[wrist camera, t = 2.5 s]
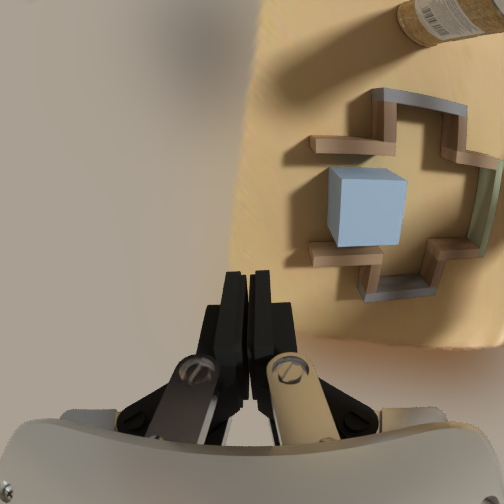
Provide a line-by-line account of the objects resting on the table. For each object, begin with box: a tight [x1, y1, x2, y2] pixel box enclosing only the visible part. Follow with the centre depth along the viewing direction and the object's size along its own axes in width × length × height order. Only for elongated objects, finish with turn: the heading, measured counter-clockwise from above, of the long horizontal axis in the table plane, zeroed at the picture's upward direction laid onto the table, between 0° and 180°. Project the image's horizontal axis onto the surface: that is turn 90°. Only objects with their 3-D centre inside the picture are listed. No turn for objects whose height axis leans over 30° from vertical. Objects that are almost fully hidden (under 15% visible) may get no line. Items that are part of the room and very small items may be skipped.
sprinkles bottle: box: [397, 0, 504, 47], centre depth 8 cm, size 5×5×13 cm
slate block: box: [327, 167, 407, 247], centre depth 20 cm, size 5×5×4 cm
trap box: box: [309, 88, 504, 303], centre depth 20 cm, size 18×18×2 cm
